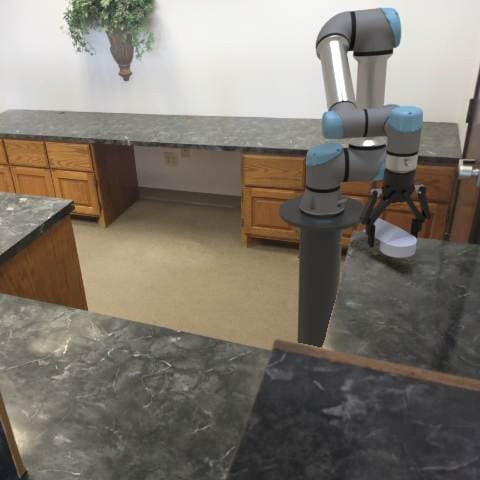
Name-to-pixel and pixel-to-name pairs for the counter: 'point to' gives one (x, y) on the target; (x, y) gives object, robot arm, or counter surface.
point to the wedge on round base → (394, 240)
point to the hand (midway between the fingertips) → (391, 243)
